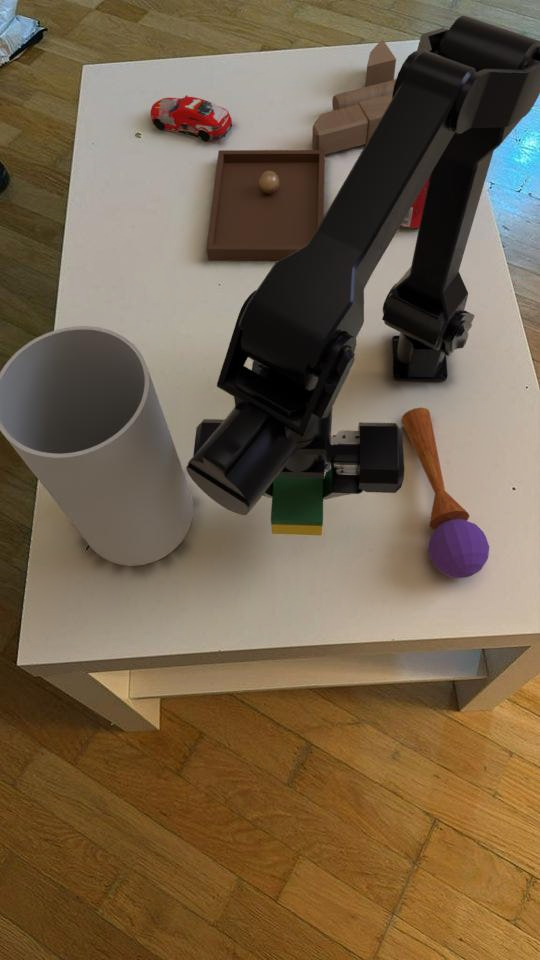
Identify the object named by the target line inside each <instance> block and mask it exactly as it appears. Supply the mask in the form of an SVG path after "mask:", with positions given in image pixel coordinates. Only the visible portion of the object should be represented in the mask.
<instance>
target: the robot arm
mask: <svg viewBox="0 0 540 960" xmlns="http://www.w3.org/2000/svg"><path fill="white" fill-rule="evenodd" d="M401 65H402V66H401V67H400V69H399V71H398V72H397V75H396V78H395V79H396V82H395V85H394V89H393V95H392V100H391V102H390V104H389V106H388V107H387V109H386V111H385V112H384V114H383V116H382V118H381V119H380V121H379V123H378V125H377V126H376V128H375V130H374V131H373V133H372V135H371V137H370V138H369V140H368V142H367V144H364V147H363V149H362V151H361V152H360V154H359V155H358V158H357V159H356V161H355V162H354V164H353V166H352V168H351V169H350V171H349V173H348V174H347V176H346V178H345V180H344V182H343V183H342V185H341V187H340V188H339V190H338V192H337V194H336V195H335V197H334V199H333V201H332V203H331V204H330V206H329V207H328V209H327V211H326V213H325V215H323V220H322V221H321V223H320V225H319V227H318V228H317V230H316V232H315V233H314V235H313V236H312V238H311V239H310V240H309V242H308V243H307V245H306V246H304V247H303V248H301V249H299V250H297V251H295V252H294V253H292V254H290V255H288V256H287V257H285V258H283V259H281V260H279V261H275V263H274V264H273V266H272V267H271V269H270V270H269V271H268V273H267V274H266V275H265V277H264V278H263V280H262V281H261V283H260V284H259V286H258V287H257V289H255V290H254V291H253V292H252V293H251V294H249V295H248V297H247V298H246V299H245V300H244V302H243V304H242V306H241V307H240V310H239V313H238V316H237V318H236V321H235V326H234V328H233V332H232V335H231V338H230V341H229V345H228V347H227V351H226V354H225V357H224V360H223V363H222V365H221V366H222V367H221V369H220V373H219V376H218V379H217V383H216V387H217V388H218V389H220V390H222V391H223V392H225V393H227V394H228V395H230V396H232V397H233V401H234V408H233V409H232V410H231V411H230V412H229V414H228V415H227V416H226V417H225V418H224V419H219V418H218V419H217V418H216V419H214V418H210V419H209V418H204V419H202V421H200V423H199V424H198V425H197V426H196V428H195V437H194V445H193V454H192V457H191V458H190V460H189V461H188V463H187V465H186V467H185V469H186V472H187V474H188V476H189V477H190V478H191V480H192V482H194V484H195V485H196V486H197V487H198V488H199V489H200V490H201V491H202V492H203V493H204V494H206V495H207V496H208V497H209V498H210V499H212V501H214V502H215V503H217V504H218V505H219V506H221V507H223V508H224V509H226V510H228V511H230V512H231V513H234V514H237V515H239V516H247V515H248V514H249V513H250V512H251V511H252V510H253V508H254V507H255V506H256V504H258V502H259V501H260V499H261V498H262V497H265V498H268V499H272V491H273V481H274V480H275V479H276V478H277V477H307V478H324V492H323V501H326V500H330V499H335V498H339V497H343V496H350V495H360V494H362V493H363V492H366V493H380V494H381V493H382V494H396V493H397V492H398V491H399V490H401V489H402V487H403V483H404V480H405V455H404V454H405V453H404V431H403V430H402V428H401V427H399V425H398V424H397V423H396V422H364V421H363V422H362V421H361V422H358V426H357V430H350V429H349V430H345V429H344V430H339V431H338V432H337V433H336V434H333V435H332V425H333V424H332V423H333V410H334V409H333V408H334V404H335V403H336V400H337V398H338V396H339V394H340V392H341V390H342V389H343V386H344V384H345V383H346V380H347V379H348V376H349V374H350V372H351V370H352V368H353V366H354V364H355V360H356V353H355V351H356V347H357V337H358V335H359V333H360V331H361V329H362V328H363V325H364V322H365V288H366V286H367V284H368V283H369V281H370V279H371V276H372V275H373V273H374V272H375V269H376V268H377V266H378V264H379V263H380V261H381V259H382V258H383V256H384V254H385V253H386V250H387V249H388V248H389V246H390V244H391V242H392V240H393V239H394V237H395V236H396V234H397V232H398V231H399V229H400V227H401V226H400V225H401V224H402V222H403V220H404V218H405V217H406V215H407V213H408V212H409V210H410V208H411V207H412V205H413V203H414V201H415V200H416V198H417V196H418V195H419V193H420V191H421V190H422V188H423V186H424V184H425V183H426V181H427V179H428V178H429V176H430V178H429V183H428V187H427V192H426V197H425V202H424V207H423V212H422V217H421V221H420V226H419V227H418V231H417V236H416V241H415V247H414V250H413V255H412V256H413V257H412V261H411V266H410V267H409V268H408V269H407V271H406V272H405V273H404V274H403V276H402V277H401V278H400V279H399V280H398V281H397V282H396V283H395V284H393V286H392V287H391V288H390V290H389V292H388V293H387V295H386V297H385V300H384V302H383V305H382V315H383V316H382V318H381V320H382V321H383V322H384V325H385V326H388V327H389V328H391V329H393V330H395V331H396V332H399V335H394V336H392V337H391V359H392V360H391V361H392V363H391V364H392V378H393V380H394V381H400V382H401V381H402V382H403V381H404V382H405V381H406V382H446V381H447V380H448V365H447V362H448V361H447V356H448V357H450V356H451V355H452V354H453V353H454V352H455V351H456V350H459V349H464V347H466V344H467V341H468V339H469V331H470V329H471V328H472V326H473V324H472V323H473V320H474V319H475V314H474V313H471V312H469V311H467V310H466V304H467V302H468V301H467V300H468V297H469V291H468V289H467V287H466V284H465V283H464V282H465V281H463V278H462V276H461V274H460V268H461V264H462V261H463V258H464V255H465V254H464V253H465V252H466V246H467V244H468V242H469V241H468V240H469V238H470V234H471V231H472V227H473V223H474V219H475V216H476V213H477V210H478V207H479V203H480V199H481V196H482V194H483V193H482V192H483V189H484V186H485V182H486V179H487V175H488V172H489V168H490V165H491V162H492V158H493V154H494V151H495V150H497V148H499V147H500V146H501V144H503V142H504V141H505V140H506V139H507V137H508V136H509V135H510V134H511V133H512V131H513V130H514V129H515V128H516V127H517V125H518V124H519V123H520V122H521V121H522V119H523V118H525V117H526V116H527V115H529V113H530V112H531V110H532V109H533V108H534V106H535V104H536V102H537V100H538V98H539V96H540V39H536V38H533V37H531V36H527V35H524V34H522V33H518V32H515V31H512V30H509V29H506V28H503V27H501V26H497V25H494V24H492V23H488V22H485V21H483V20H480V19H476V18H473V17H472V16H468V15H464V14H463V15H462V14H461V16H459V17H458V18H457V19H456V20H455V21H454V22H453V23H452V25H450V27H449V29H448V28H445V27H440V28H437V29H434V30H431V31H428V32H423V33H421V35H420V38H419V41H418V46H417V49H416V50H415V51H413V52H411V53H410V54H409V55H407V58H406V59H404V61H403V63H402V64H401ZM248 359H250V360H252V366H251V369H250V368H249V367H247V366H245V364H246V362H247V360H248Z"/></svg>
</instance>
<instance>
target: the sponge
mask: <svg viewBox="0 0 540 960" xmlns="http://www.w3.org/2000/svg"><path fill="white" fill-rule="evenodd" d="M323 492H324V478H307V477H277V478H276V479H275V480H274V481H273V491H272V498H271V509H270V510H271V511H270V523H271V534H272V535H293V536H294V535H296V536H323V526H324V500H323Z"/></svg>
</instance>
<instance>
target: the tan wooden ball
mask: <svg viewBox="0 0 540 960" xmlns="http://www.w3.org/2000/svg"><path fill="white" fill-rule="evenodd" d="M279 184H280V181H279V177H278V175H277V174H276V173H275V172H273V171H265V172H264V173H262V174H261V176H260V177H259V187H260V189H261V190H262V191H263V192H264V193H266V194H272V193H274V192H275V191H276V190H277V189H278V187H279Z"/></svg>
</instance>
